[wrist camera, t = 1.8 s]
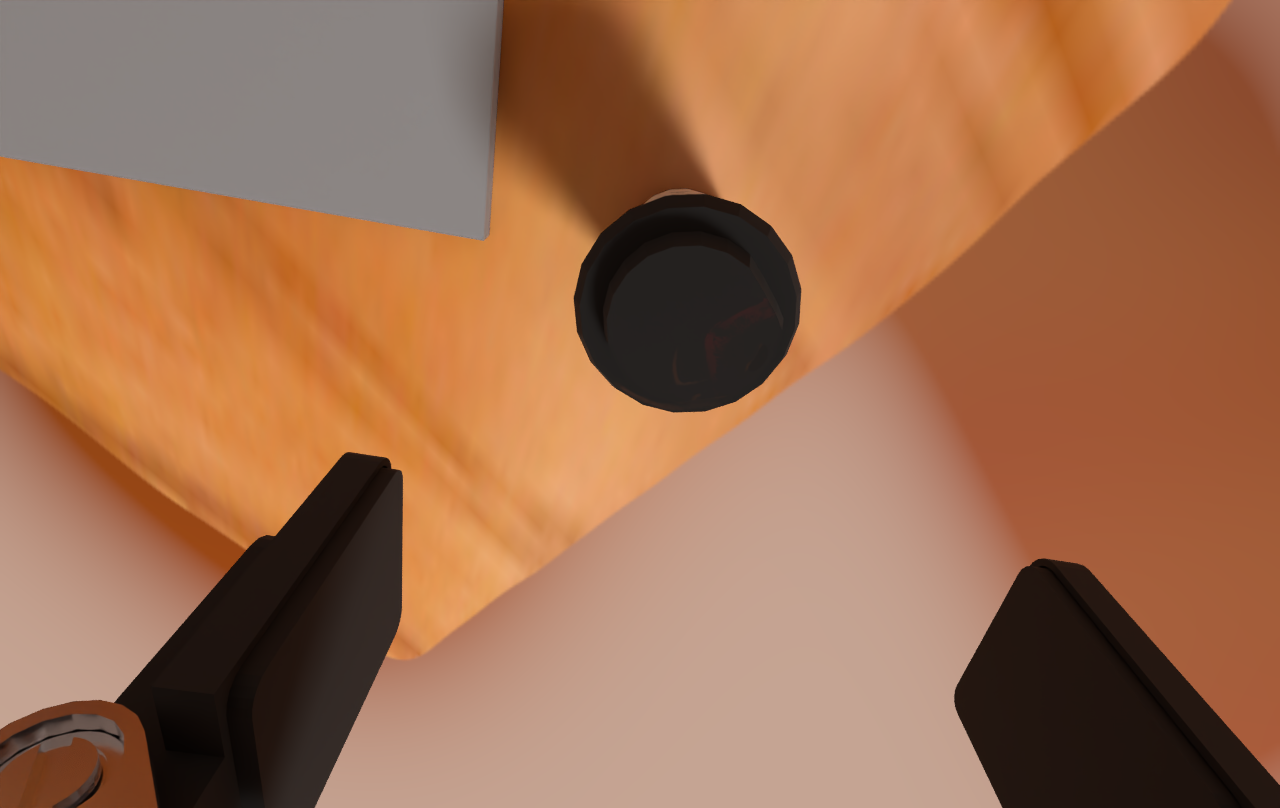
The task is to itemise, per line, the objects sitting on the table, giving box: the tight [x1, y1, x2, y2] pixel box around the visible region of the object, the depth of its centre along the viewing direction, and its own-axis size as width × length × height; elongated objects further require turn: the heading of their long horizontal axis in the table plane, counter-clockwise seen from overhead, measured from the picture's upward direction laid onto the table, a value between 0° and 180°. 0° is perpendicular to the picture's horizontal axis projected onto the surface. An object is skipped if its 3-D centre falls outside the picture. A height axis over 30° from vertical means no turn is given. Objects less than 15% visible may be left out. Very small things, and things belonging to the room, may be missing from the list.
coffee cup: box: [574, 189, 801, 412], centre depth 23 cm, size 7×7×10 cm
